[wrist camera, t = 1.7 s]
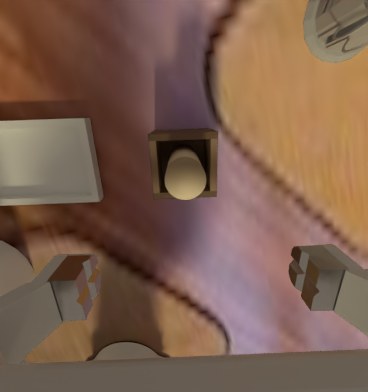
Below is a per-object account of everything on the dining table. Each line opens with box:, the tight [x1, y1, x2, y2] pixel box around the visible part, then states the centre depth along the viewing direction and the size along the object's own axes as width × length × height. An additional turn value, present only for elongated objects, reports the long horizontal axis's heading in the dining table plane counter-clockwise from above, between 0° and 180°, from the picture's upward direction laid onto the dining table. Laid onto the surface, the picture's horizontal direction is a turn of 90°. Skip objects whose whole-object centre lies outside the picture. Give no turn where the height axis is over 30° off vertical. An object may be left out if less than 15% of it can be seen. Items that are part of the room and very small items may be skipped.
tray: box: [0, 118, 104, 206], centre depth 31 cm, size 12×18×2 cm, turn 92°
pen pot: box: [148, 128, 218, 199], centre depth 29 cm, size 8×8×7 cm
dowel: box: [165, 144, 206, 200], centre depth 26 cm, size 4×4×12 cm
